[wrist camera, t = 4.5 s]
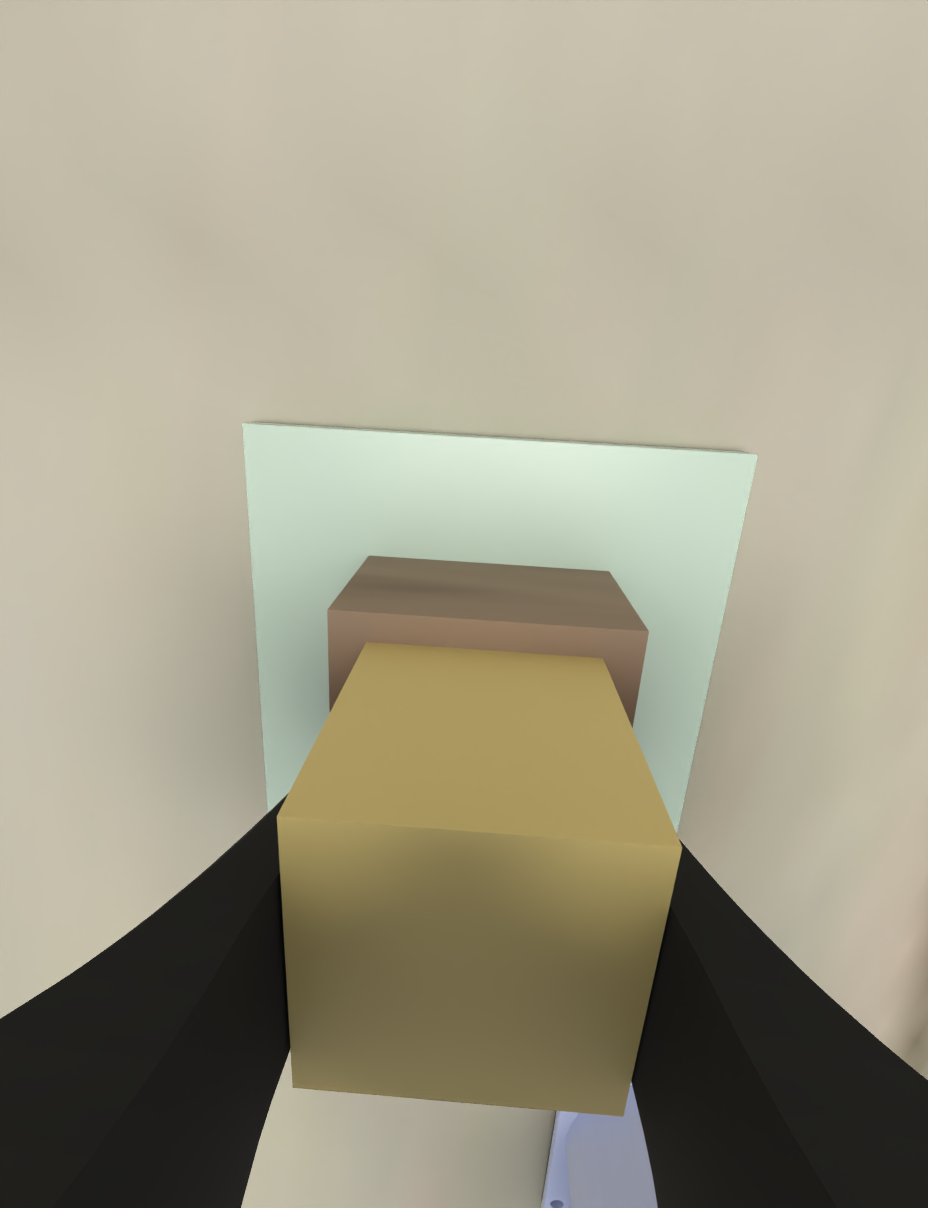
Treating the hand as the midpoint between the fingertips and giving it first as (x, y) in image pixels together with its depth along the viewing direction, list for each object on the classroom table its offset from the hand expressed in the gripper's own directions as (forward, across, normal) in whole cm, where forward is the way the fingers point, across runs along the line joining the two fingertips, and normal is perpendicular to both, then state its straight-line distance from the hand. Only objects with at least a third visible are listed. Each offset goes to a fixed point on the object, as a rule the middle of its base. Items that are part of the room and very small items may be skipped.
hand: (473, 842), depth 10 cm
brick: (+2, 0, 0) cm, 2 cm away
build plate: (+7, 0, 0) cm, 7 cm away
